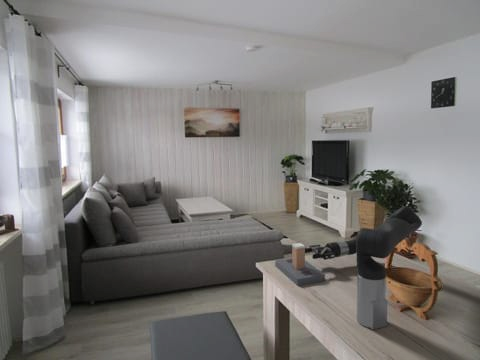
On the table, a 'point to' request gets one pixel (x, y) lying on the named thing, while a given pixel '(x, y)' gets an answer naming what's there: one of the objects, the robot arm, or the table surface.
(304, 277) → the grey flat rectangular block
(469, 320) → the table surface
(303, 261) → the plug
